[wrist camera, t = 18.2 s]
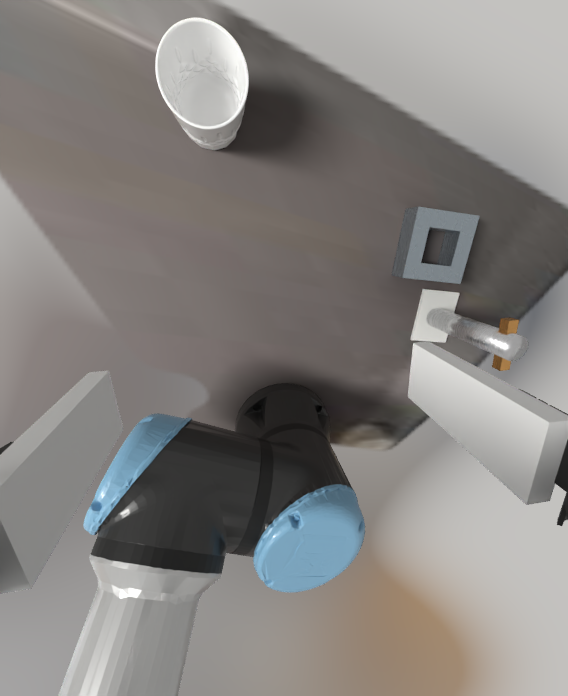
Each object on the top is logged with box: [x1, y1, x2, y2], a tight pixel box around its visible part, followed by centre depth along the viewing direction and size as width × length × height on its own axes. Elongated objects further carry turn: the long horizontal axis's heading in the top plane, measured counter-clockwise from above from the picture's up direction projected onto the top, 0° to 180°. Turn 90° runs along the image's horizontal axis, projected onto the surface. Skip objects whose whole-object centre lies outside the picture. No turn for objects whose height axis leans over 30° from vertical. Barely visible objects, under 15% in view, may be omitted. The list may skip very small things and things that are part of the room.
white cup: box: [156, 18, 249, 150], centre depth 32 cm, size 8×8×10 cm
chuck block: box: [392, 207, 480, 284], centre depth 44 cm, size 9×9×3 cm
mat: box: [411, 289, 460, 342], centre depth 49 cm, size 8×6×1 cm
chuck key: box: [426, 308, 528, 371], centre depth 42 cm, size 3×6×15 cm, turn 3°
